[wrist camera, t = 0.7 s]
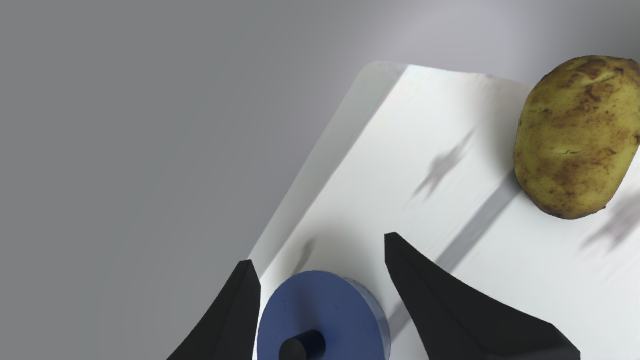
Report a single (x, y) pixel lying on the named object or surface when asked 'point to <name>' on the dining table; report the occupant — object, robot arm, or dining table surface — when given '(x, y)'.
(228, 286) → the robot arm
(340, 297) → the lid
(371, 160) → the dining table surface
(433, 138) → the dining table surface
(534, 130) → the potato
